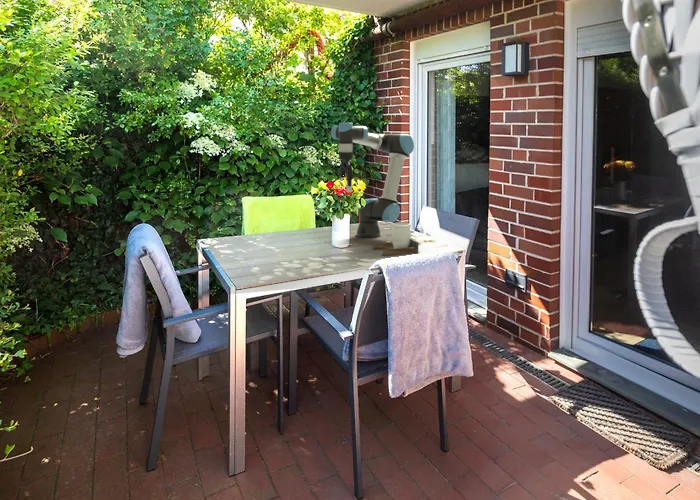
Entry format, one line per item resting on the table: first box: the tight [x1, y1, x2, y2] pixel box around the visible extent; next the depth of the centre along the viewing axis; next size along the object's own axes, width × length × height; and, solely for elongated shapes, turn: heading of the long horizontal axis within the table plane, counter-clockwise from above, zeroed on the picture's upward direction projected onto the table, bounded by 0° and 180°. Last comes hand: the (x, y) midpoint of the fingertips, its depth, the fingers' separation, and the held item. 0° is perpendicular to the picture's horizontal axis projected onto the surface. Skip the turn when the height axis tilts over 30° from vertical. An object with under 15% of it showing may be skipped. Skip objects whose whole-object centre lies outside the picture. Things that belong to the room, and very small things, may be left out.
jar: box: [390, 221, 412, 249], centre depth 287 cm, size 11×10×15 cm
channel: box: [373, 237, 419, 256], centre depth 287 cm, size 16×20×6 cm
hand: (346, 190), depth 286 cm, fingers open, 13 cm apart
